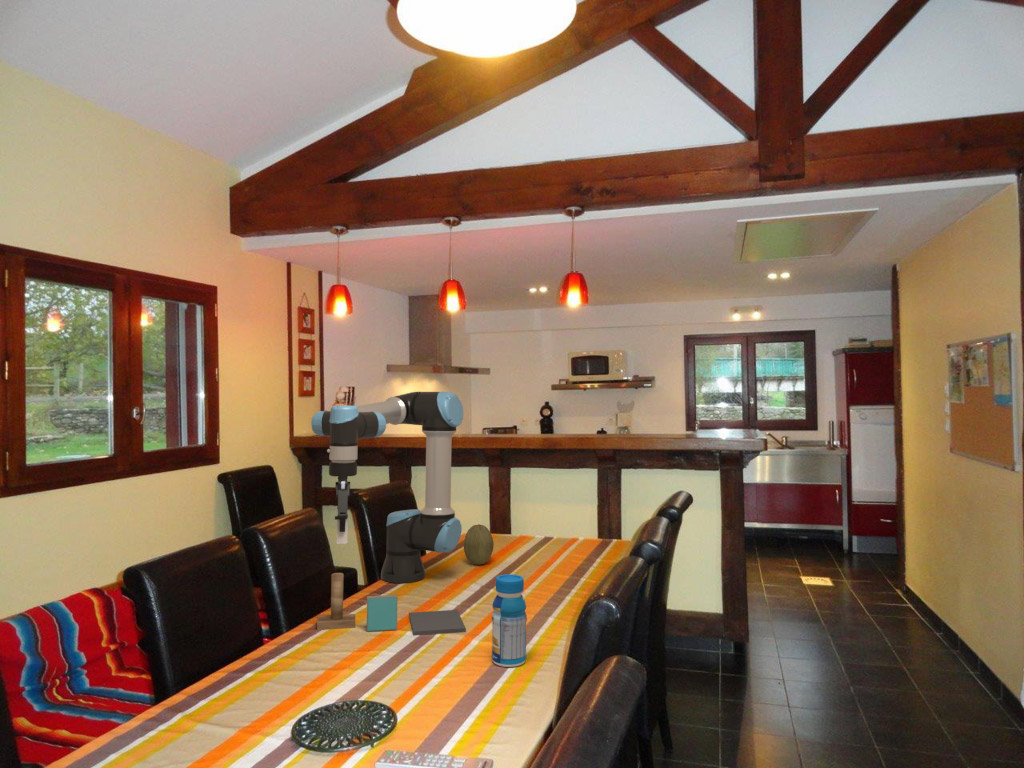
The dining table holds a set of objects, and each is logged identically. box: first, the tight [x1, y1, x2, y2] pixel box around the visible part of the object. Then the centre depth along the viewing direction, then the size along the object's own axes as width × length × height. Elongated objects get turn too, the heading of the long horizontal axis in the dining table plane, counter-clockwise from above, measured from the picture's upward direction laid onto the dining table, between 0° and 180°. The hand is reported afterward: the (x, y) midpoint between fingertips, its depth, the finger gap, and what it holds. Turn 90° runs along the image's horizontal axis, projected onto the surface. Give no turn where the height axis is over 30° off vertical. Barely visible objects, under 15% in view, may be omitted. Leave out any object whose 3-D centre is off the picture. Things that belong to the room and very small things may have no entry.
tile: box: [366, 594, 398, 633], centre depth 184 cm, size 2×8×9 cm, turn 103°
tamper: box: [316, 572, 356, 631], centre depth 187 cm, size 6×10×14 cm, turn 103°
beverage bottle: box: [491, 573, 528, 668], centre depth 163 cm, size 8×8×20 cm
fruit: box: [463, 523, 495, 566], centre depth 257 cm, size 11×11×15 cm
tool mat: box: [408, 609, 467, 636], centre depth 189 cm, size 16×14×1 cm
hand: (341, 538), depth 187 cm, fingers open, 13 cm apart
